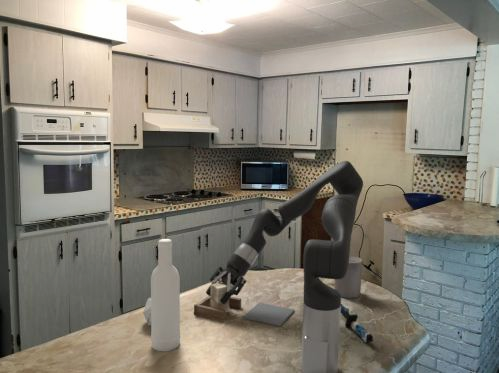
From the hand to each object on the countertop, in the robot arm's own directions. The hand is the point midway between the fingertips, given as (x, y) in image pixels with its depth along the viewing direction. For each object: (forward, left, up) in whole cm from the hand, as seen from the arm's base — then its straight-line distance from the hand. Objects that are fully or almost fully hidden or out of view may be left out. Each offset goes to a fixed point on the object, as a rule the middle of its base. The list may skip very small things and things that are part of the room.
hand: (214, 298), depth 138 cm
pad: (+7, -17, -5) cm, 19 cm away
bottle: (-25, +1, -5) cm, 26 cm away
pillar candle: (+38, -36, -5) cm, 52 cm away
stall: (+2, -1, -5) cm, 5 cm away
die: (-15, +12, -5) cm, 20 cm away
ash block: (+2, -1, -5) cm, 5 cm away
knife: (+13, -41, -4) cm, 43 cm away
